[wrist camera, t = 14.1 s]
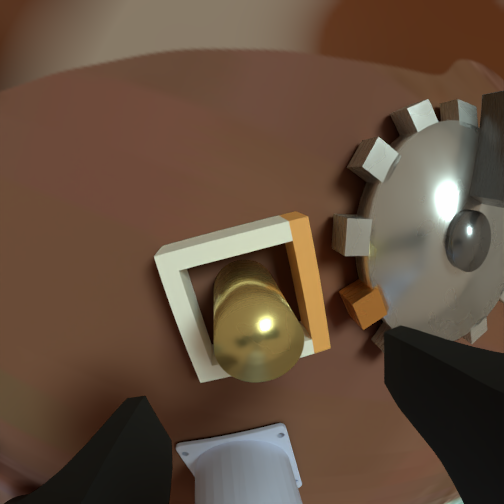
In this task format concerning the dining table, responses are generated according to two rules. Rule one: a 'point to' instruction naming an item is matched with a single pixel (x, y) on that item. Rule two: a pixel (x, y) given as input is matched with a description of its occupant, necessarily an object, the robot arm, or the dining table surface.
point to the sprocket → (429, 222)
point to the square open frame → (232, 244)
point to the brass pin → (253, 324)
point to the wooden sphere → (16, 499)
